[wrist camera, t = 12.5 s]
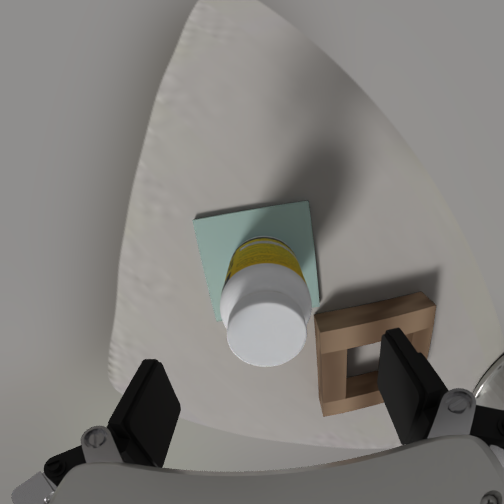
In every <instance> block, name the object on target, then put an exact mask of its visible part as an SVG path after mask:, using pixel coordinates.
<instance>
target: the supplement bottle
mask: <svg viewBox="0 0 504 504" xmlns="http://www.w3.org/2000/svg"><path fill="white" fill-rule="evenodd" d="M311 310H312V302H311V296H310V292H309V289H308V286H307V284H306V281H305V278H304V276H303V273H302V270H301V268H300V265H299V263H298V260H297V258H296V256H295V254H294V252H293V250H292V249H291V248H290V247H289V246H288V245H287V244H286V243H285V242H283V241H282V240H280V239H277V238H275V237H271V236H257V237H254V238H251V239H248V240H246V241H245V242H243V243H242V244H241V245H240V246H239V247H238V248H237V249H236V250H235V252H234V253H233V255H232V258H231V260H230V263H229V267H228V271H227V275H226V279H225V283H224V286H223V289H222V294H221V299H220V314H221V318H222V321H223V323H224V325H225V327H226V328H227V341H228V344H229V346H230V348H231V350H232V351H233V353H234V354H235V355H236V356H237V357H238V358H240V359H241V360H243V361H244V362H246V363H249V364H251V365H255V366H261V367H270V366H277V365H280V364H283V363H285V362H288V361H289V360H291V359H292V358H294V357H295V356H296V355H297V354H298V353H299V352H300V351H301V349H302V348H303V346H304V344H305V342H306V338H307V327H306V325H307V323H308V321H309V319H310V315H311Z"/></svg>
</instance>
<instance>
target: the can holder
mask: <svg viewBox="0 0 504 504" xmlns="http://www.w3.org/2000/svg"><path fill="white" fill-rule="evenodd" d="M435 311H436V305H435V304H434V303H433V302H432V301H431V300H430V299H429V298H428V297H427V296H426V295H424V294H423V293H422V292H418V293H414V294H410V295H405V296H401V297H397V298H393V299H388V300H384V301H379V302H375V303H370V304H366V305H361V306H356V307H351V308H346V309H341V310H336V311H330V312H325V313H319V314H314V322H315V336H316V350H317V366H318V386H319V400H320V404H321V408H322V413H323V417H325V416H330V415H335V414H340V413H344V412H349V411H353V410H357V409H361V408H365V407H369V406H373V405H376V404H380V403H383V402H384V400H383V398H382V396H381V394H380V391H379V389H378V385H377V379H378V371H374V372H370V373H366V374H362V375H358V376H353V377H349V378H346V374H347V349H349V348H354V347H358V346H363V345H367V344H371V343H375V342H380V341H381V337H382V335H383V334H385V332H386V330H389V329H393V328H397V327H399V328H400V329H401V330H402V332H403V333H404V334H405V336H406V337H407V338H408V340H409V341H410V342H411V344H412V345H413V347H414V348H415V349H416V351H417V352H418V353H419V352H421V353H422V354H423V355H424V356H425V358H426V359H427V357H428V352H429V347H430V342H431V336H432V331H433V325H434V318H435Z"/></svg>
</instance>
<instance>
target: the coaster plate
mask: <svg viewBox="0 0 504 504" xmlns="http://www.w3.org/2000/svg"><path fill="white" fill-rule="evenodd" d="M193 225H194V229H195V234H196V238H197V243H198V247H199V252H200V256H201V260H202V265H203V269H204V273H205V277H206V281H207V286H208V290H209V294H210V298H211V302H212V305H213V309H214V313H215V317H216V321H222V318H221V314H220V299H221V294H222V289H223V286H224V283H225V279H226V275H227V271H228V267H229V263H230V260H231V258H232V255H233V253H234V252H235V250H236V249H237V248H238V247H239V246H240V245H241V244H242V243H243V242H245V241H246V240H248V239H251V238H254V237H257V236H271V237H275V238H277V239H280V240H282V241H283V242H285V243H286V244H287V245H288V246H289V247H290V248H291V249H292V250H293V252H294V254H295V256H296V258H297V260H298V263H299V265H300V268H301V270H302V273H303V276H304V278H305V281H306V284H307V286H308V289H309V292H310V296H311V302H312V308H313V307H319V306H320V304H319V292H318V281H317V270H316V260H315V251H314V241H313V233H312V225H311V217H310V209H309V201H301V202H294V203H287V204H281V205H274V206H268V207H262V208H256V209H249V210H243V211H238V212H232V213H226V214H220V215H215V216H209V217H204V218H198V219H194V220H193Z"/></svg>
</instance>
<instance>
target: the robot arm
mask: <svg viewBox="0 0 504 504" xmlns="http://www.w3.org/2000/svg"><path fill="white" fill-rule="evenodd" d="M377 385H378V389H379V391H380V394H381V396H382V398H383V400H384V403H385V405H386V407H387V410H388V412H389V415H390V417H391V419H392V422H393V424H394V427H395V429H396V432H397V434H398V436H399V439H400V441H401V444H402V445H403V446H399V447H396V448H392V449H389V450H385V451H381V452H378V453H374V454H370V455H366V456H361V457H357V458H352V459H348V460H343V461H338V462H332V463H327V464H321V465H314V466H307V467H299V468H290V469H280V470H267V471H244V472H213V471H192V470H179V469H169V468H162V467H163V464H164V461H165V458H166V455H167V452H168V448H169V445H170V442H171V439H172V436H173V433H174V430H175V426H176V423H177V420H178V417H179V414H180V411H181V407H180V403H179V401H178V399H177V397H176V394H175V392H174V390H173V388H172V386H171V383H170V381H169V379H168V376H167V374H166V372H165V369H164V367H163V365H162V363H161V362H158V360H156V359H145V360H143V361H142V363H141V365H140V367H139V368H138V370H137V372H136V373H135V375H134V377H133V379H132V380H131V382H130V384H129V386H128V387H127V389H126V391H125V393H124V395H123V397H122V398H121V400H120V402H119V404H118V405H117V407H116V409H115V411H114V412H113V414H112V416H111V418H110V420H109V422H108V426H107V428H106V427H104V426H94V427H91V428H90V429H88V430H87V431H85V432H84V434H83V435H82V437H81V446H78V447H76V448H73V449H71V450H68V451H66V452H64V453H61V454H59V455H56V456H54V457H52V458H50V459H49V460H48V461H47V462H46V464H45V465H44V473H41V472H38V473H37V474H36V475H34V476H33V477H31V478H30V479H28V480H27V481H26V482H24V483H23V484H21V485H20V486H18V487H17V488H16V489H15V490H14V491H13V493H12V501H13V503H14V504H504V355H503V356H502V357H501V358H500V359H499V360H498V361H497V362H496V363H495V364H494V365H493V366H492V367H491V368H490V369H489V370H488V371H487V373H486V374H485V375H484V376H483V378H482V379H481V381H480V382H479V384H478V385H477V387H476V389H475V390H474V393H473V394H472V393H471V392H470V391H468V390H465V389H459V388H457V389H452V390H450V391H449V390H448V389H447V388H446V386H445V385H444V383H443V382H442V380H441V379H440V377H439V376H438V374H437V373H436V372H435V370H434V369H433V367H432V366H431V364H430V363H429V362H428V360H427V359H426V358H425V356H424V355H423V354H422V353H421V352H419V353H418V352H417V351H416V349H415V348H414V347H413V345H412V344H411V342H410V341H409V340H408V338H407V337H406V336H405V334H404V333H403V332H402V330H401V329H400V328H399V327H397V328H393V329H389V330H386V332H385V334H383V335H382V337H381V349H380V361H379V370H378V379H377ZM405 444H406V445H405Z"/></svg>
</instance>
